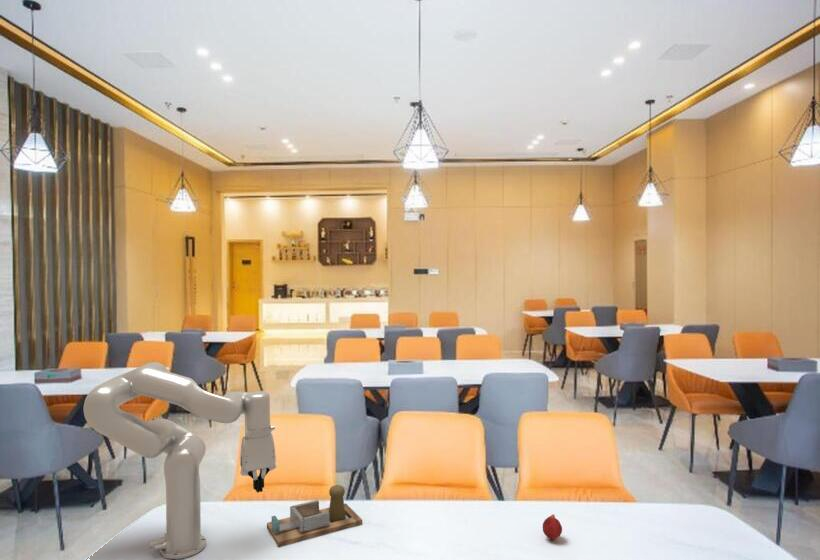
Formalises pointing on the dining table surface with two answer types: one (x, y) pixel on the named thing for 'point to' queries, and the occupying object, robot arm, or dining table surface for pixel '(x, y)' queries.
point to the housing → (297, 518)
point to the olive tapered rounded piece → (336, 504)
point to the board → (296, 536)
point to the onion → (552, 527)
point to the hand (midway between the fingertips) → (258, 490)
